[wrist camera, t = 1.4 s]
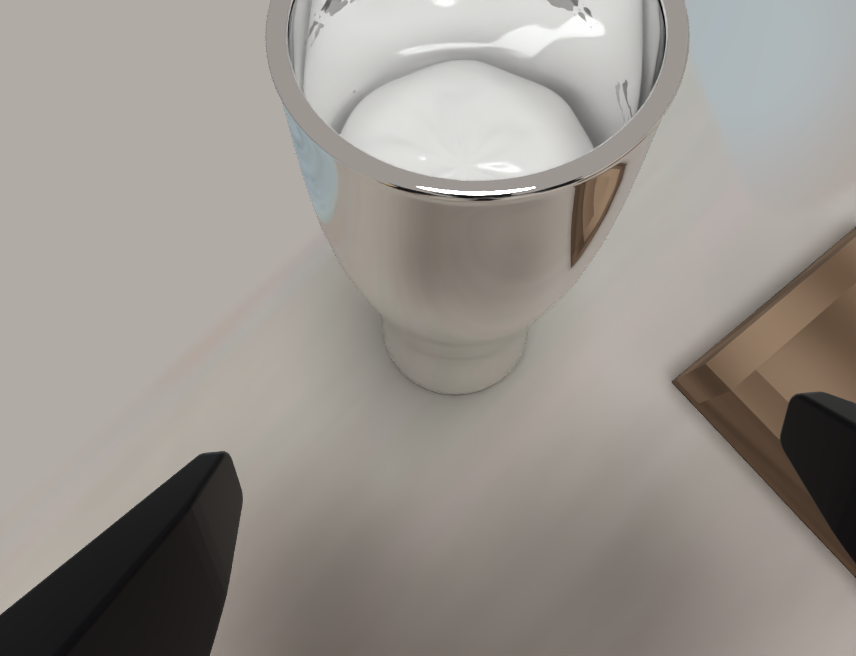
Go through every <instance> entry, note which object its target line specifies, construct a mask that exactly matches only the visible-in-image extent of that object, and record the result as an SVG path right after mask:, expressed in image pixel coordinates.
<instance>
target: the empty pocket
mask: <svg viewBox="0 0 856 656" xmlns="http://www.w3.org/2000/svg"><path fill="white" fill-rule="evenodd" d="M672 382H673V384H674V385H675V386H676V387H677V388H678V389H679V390H680V391H681V392H682V393H683V394H684V395H685V396H686V397H687V398H688V399H689V401H690V402H691V403H692V404H693V405H694V406H695V407H696V408H697V409H698V410H699V411H700V412H701V413H702V414H703V415H704V416H705V418H706V419H707V420H708V421H709V422H710V423H711V424H712V425H713V426H714V427H715V428H716V429H717V430H718V431H719V432H720V433H721V435H722V436H723V437H724V438H725V439H726V440H727V441H728V442H729V443H730V444H731V445H732V446H733V447H734V448H735V449H736V450H737V452H738V453H739V454H740V455H741V456H742V457H743V458H744V459H745V460H746V461H747V462H748V463H749V464H750V465H751V466H752V467H753V469H754V470H755V471H756V472H757V473H758V474H759V475H760V476H761V477H762V478H763V479H764V480H765V481H766V482H767V483H768V484H769V486H770V487H771V488H772V489H773V490H774V491H775V492H776V493H777V494H778V495H779V496H780V497H781V498H782V499H783V500H784V502H785V503H786V504H787V505H788V506H789V507H790V508H791V509H792V510H793V511H794V512H795V513H796V514H797V515H798V516H799V517H800V519H801V520H802V521H803V522H804V523H805V524H806V525H807V526H808V527H809V528H810V529H811V530H812V531H813V532H814V533H815V534H816V536H817V537H818V538H819V539H820V540H821V541H822V542H823V543H824V544H825V545H826V546H827V547H828V548H829V549H830V550H831V551H832V553H833V554H834V555H835V556H836V557H837V558H838V559H839V560H840V561H841V562H842V563H843V564H844V565H845V566H846V567H847V568H848V570H849V571H850V572H851V573H852V574H853V575H854V576H855V577H856V564H855V563H854V562H853V560H852V559H851V558H850V556H849V555H848V554H847V552H846V551H845V550H844V548H843V547H842V545H841V544H840V542H839V541H838V540H837V538H836V537H835V535H834V534H833V532H832V531H831V529H830V527H829V526H828V524H827V523H826V521H825V520H824V518H823V516H822V515H821V513H820V511H819V510H818V508H817V506H816V505H815V503H814V501H813V500H812V498H811V496H810V495H809V493H808V491H807V489H806V488H805V486H804V484H803V483H802V481H801V479H800V478H799V476H798V474H797V473H796V471H795V469H794V468H793V466H792V464H791V463H790V461H789V459H788V458H787V456H786V454H785V453H784V451H783V449H782V446H781V442H780V433H781V429H782V425H783V421H784V418H785V414H786V410H787V406H788V403H789V400H790V399H791V397H792V396H793V395H795V394H798V393H806V392H817V391H820V392H826V393H829V394H831V395H834V396H837V397H840V398H843V399H845V400H848V401H851V402H854V403H856V227H855V228H854V229H853V230H852V231H851V232H849V233H848V234H847V235H846V236H845V237H843V238H842V239H841V240H840V241H839V242H838V243H836V244H835V245H834V246H833V247H832V248H830V249H829V250H828V251H827V252H826V253H824V254H823V255H822V256H821V257H820V258H818V259H817V260H816V261H815V262H814V263H813V264H811V265H810V266H809V267H808V268H807V269H805V270H804V271H803V272H802V273H801V274H799V275H798V276H797V277H796V278H795V279H794V280H792V281H791V282H790V283H789V284H788V285H786V286H785V287H784V288H783V289H782V290H780V291H779V292H778V293H777V294H776V295H775V296H773V297H772V298H771V299H770V300H769V301H767V302H766V303H765V304H764V305H763V306H761V307H760V308H759V309H758V310H757V311H755V312H754V313H753V314H752V315H751V316H750V317H748V318H747V319H746V320H745V321H744V322H742V323H741V324H740V325H739V326H738V327H736V328H735V329H734V330H733V331H732V332H731V333H729V334H728V335H727V336H726V337H725V338H723V339H722V340H721V341H720V342H719V343H717V344H716V345H715V346H714V347H713V348H712V349H710V350H709V351H708V352H707V353H706V354H704V355H703V356H702V357H701V358H700V359H698V360H697V361H696V362H695V363H694V364H692V365H691V366H690V367H689V368H688V369H687V370H685V371H684V372H683V373H682V374H681V375H679V376H678V377H677V378H676V379H675V380H673V381H672Z"/></svg>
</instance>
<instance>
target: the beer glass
mask: <svg viewBox="0 0 856 656" xmlns="http://www.w3.org/2000/svg"><path fill="white" fill-rule="evenodd" d="M689 38H690V34H689V21H688V14H687V9H686V5H685V1H684V0H271V2H270V6H269V10H268V15H267V21H266V52H267V59H268V64H269V69H270V73H271V76H272V79H273V82H274V85H275V88H276V90H277V92H278V94H279V96H280V98H281V100H282V104H283V107H284V111H285V114H286V117H287V121H288V125H289V129H290V132H291V137H292V140H293V144H294V148H295V151H296V155H297V158H298V161H299V164H300V168H301V171H302V175H303V178H304V181H305V185H306V188H307V191H308V194H309V196H310V199H311V202H312V204H313V207H314V210H315V212H316V215H317V218H318V220H319V223H320V226H321V228H322V230H323V232H324V234H325V236H326V238H327V240H328V242H329V244H330V246H331V248H332V250H333V252H334V254H335V256H336V258H337V260H338V262H339V264H340V266H341V267H342V269H343V271H344V272H345V274H346V275H347V276H348V278H349V279H350V280H351V282H352V283H353V284H354V286H355V287H356V288H357V289H358V291H359V292H360V293H361V295H362V296H363V297H364V298H365V299H366V301H367V302H368V303H369V304H370V305H371V306H372V307H373V308H374V309H375V310H376V311H377V312H378V313H379V314H380V315H381V316H382V333H383V339H384V343H385V346H386V348H387V351H388V353H389V355H390V357H391V359H392V360H393V362H394V363H395V365H396V366H397V367H398V369H399V370H400V371H401V372H402V373H403V374H404V375H405V376H406V377H407V378H409V379H410V380H411V381H413V382H414V383H416V384H417V385H419V386H421V387H423V388H425V389H428V390H431V391H434V392H438V393H442V394H451V395H460V394H469V393H474V392H477V391H480V390H483V389H486V388H488V387H490V386H492V385H494V384H495V383H497V382H498V381H500V380H501V379H502V378H504V377H505V376H506V375H507V374H508V373H509V372H510V371H511V370H512V369H513V368H514V366H515V365H516V363H517V362H518V360H519V359H520V357H521V355H522V353H523V350H524V347H525V344H526V340H527V335H528V326H529V325H531V324H532V323H533V322H535V321H536V320H538V319H539V318H540V317H541V316H543V315H544V314H545V313H546V312H547V311H548V310H549V309H550V308H552V307H553V306H554V305H555V304H556V303H557V302H558V301H559V300H560V299H561V298H562V297H563V296H564V295H565V294H566V293H567V292H568V291H569V290H570V289H571V288H572V287H573V286H574V284H575V283H576V282H577V281H578V279H579V278H580V277H581V275H582V274H583V272H584V271H585V270H586V268H587V267H588V265H589V264H590V262H591V261H592V260H593V258H594V257H595V255H596V254H597V253H598V251H599V249H600V248H601V246H602V245H603V243H604V241H605V240H606V238H607V236H608V234H609V232H610V230H611V229H612V227H613V225H614V223H615V221H616V219H617V218H618V216H619V214H620V212H621V210H622V208H623V206H624V204H625V202H626V200H627V198H628V196H629V193H630V191H631V189H632V187H633V185H634V182H635V180H636V178H637V176H638V173H639V171H640V169H641V167H642V165H643V162H644V160H645V158H646V155H647V153H648V150H649V148H650V145H651V143H652V141H653V138H654V136H655V133H656V131H657V129H658V127H659V124H660V122H661V120H662V118H663V116H664V115H665V113H666V112H667V110H668V109H669V107H670V105H671V103H672V102H673V100H674V98H675V96H676V94H677V92H678V89H679V87H680V84H681V81H682V79H683V75H684V72H685V68H686V64H687V59H688V53H689Z"/></svg>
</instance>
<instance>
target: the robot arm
mask: <svg viewBox="0 0 856 656" xmlns="http://www.w3.org/2000/svg"><path fill="white" fill-rule="evenodd" d="M780 442H781V446H782V449H783V451H784V453H785V454H786V456H787V458H788V459H789V461H790V463H791V464H792V466H793V468H794V469H795V471H796V473H797V474H798V476H799V478H800V479H801V481H802V483H803V484H804V486H805V488H806V489H807V491H808V493H809V495H810V496H811V498H812V500H813V501H814V503H815V505H816V506H817V508H818V510H819V511H820V513H821V515H822V516H823V518H824V520H825V521H826V523H827V524H828V526H829V527H830V529H831V531H832V532H833V534H834V535H835V537H836V538H837V540H838V541H839V542H840V544H841V545H842V547H843V548H844V550H845V551H846V552H847V554H848V555H849V556H850V558H851V559H852V560H853V562H854V563H855V564H856V403H854V402H851V401H848V400H845V399H843V398H840V397H837V396H834V395H831V394H829V393H826V392H820V391H817V392H806V393H798V394H795V395H793V396H792V397H791V399H790V400H789V403H788V406H787V410H786V414H785V418H784V421H783V425H782V429H781V433H780ZM242 503H243V495H242V489H241V486H240V483H239V480H238V477H237V474H236V470H235V467H234V464H233V461H232V458H231V456H230V455H229V453H227V452H225V451H220V452H210V453H203V454H200V455H198V456H197V457H196V458H194V459H193V460H192V461H191V462H190V463H188V464H187V465H186V466H185V467H183V468H182V469H181V470H180V471H178V472H177V473H176V474H175V475H173V476H172V477H171V478H170V479H168V480H167V481H166V482H165V483H163V484H162V485H161V486H160V487H159V488H157V489H156V490H155V491H154V492H152V493H151V494H150V495H149V496H147V497H146V498H145V499H144V500H142V501H141V502H140V503H139V504H137V505H136V506H135V507H134V508H132V509H131V510H130V511H129V512H127V513H126V514H125V515H124V516H123V517H121V518H120V519H119V520H118V521H116V522H115V523H114V524H113V525H111V526H110V527H109V528H108V529H106V530H105V531H104V532H103V533H101V534H100V535H99V536H98V537H96V538H95V539H94V540H93V541H91V542H90V543H89V544H88V545H87V546H85V547H84V548H83V549H82V550H80V551H79V552H78V553H77V554H75V555H74V556H73V557H72V558H70V559H69V560H68V561H67V562H65V563H64V564H63V565H62V566H60V567H59V568H58V569H57V570H55V571H54V572H53V573H52V574H50V575H49V576H48V577H47V578H46V579H44V580H43V581H42V582H41V583H39V584H38V585H37V586H36V587H34V588H33V589H32V590H31V591H29V592H28V593H27V594H26V595H24V596H23V597H22V598H21V599H19V600H18V601H17V602H16V603H14V604H13V605H12V606H11V607H9V608H8V609H7V610H6V611H5V612H3V613H2V614H1V615H0V656H210V653H211V650H212V646H213V643H214V639H215V636H216V632H217V629H218V625H219V622H220V618H221V615H222V611H223V607H224V603H225V600H226V596H227V590H228V585H229V580H230V574H231V568H232V563H233V557H234V551H235V545H236V539H237V533H238V527H239V521H240V516H241V510H242Z"/></svg>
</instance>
